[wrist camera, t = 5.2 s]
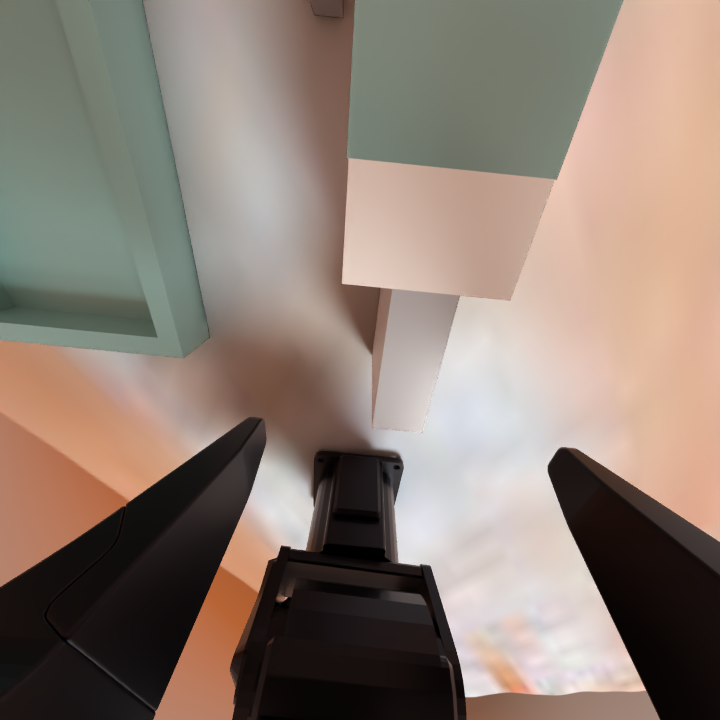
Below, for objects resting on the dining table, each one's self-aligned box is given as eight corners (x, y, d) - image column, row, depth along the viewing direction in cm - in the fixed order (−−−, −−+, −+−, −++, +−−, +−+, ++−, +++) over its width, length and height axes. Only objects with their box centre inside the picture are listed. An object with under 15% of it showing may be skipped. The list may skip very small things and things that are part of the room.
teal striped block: (432, 361, 16) (461, 436, 11) (345, 353, 16) (332, 424, 11) (507, 63, 10) (661, -102, 5) (367, 48, 10) (361, -136, 5)
